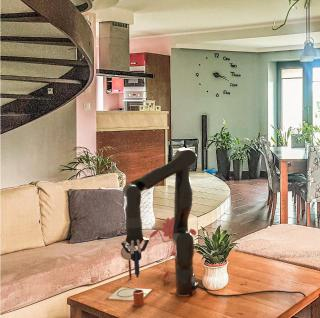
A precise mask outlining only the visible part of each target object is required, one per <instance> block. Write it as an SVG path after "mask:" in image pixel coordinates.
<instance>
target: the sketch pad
mask: <svg viewBox="0 0 320 318" xmlns="http://www.w3.org/2000/svg"><path fill="white" fill-rule="evenodd" d="M138 289H141V290H143V294H144V298H145V297H147V295H148V294H149V293H150V292H151V291H152V290H153V289H152V288H138V287H122V286H121V287H120V288H119V289H117V290H116V291H114V292H113V293H112V294H111V295H110V296H109V297H107V299H109V300H121V301H122V300H125V301H134V297H133V291H135V290H138Z"/></svg>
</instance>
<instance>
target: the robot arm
mask: <svg viewBox="0 0 320 318" xmlns="http://www.w3.org/2000/svg"><path fill="white" fill-rule="evenodd" d="M197 159H198V157H197V152H195V151H194V150H192V149H190V148H185V147H181V148H178V149H177V150H176V152H175V153H174V159H173V160H172V161H169V162H168V163H166V164H164V165H161V166H159V167H156V168H154V169H152V170H150V171H148V172H147V173H146V174H143V176H141V177H138V178H137V179H134V180H132V181H130V182H128V183H126V184H125V185H124V186H123V188H122V195H123V196H124V198H126V205H125V207H124V208H125V211H124V212H125V233H126V237H125V239H124V240H123V241H121V242H120V244H121V247H122V248H124V249H125V251H126V252H127V253H130V254H131V259H130V260H131V261H132V262H134V253H133V248H134V247H137V250H138V257H139V261H141V260H142V252H145V251H146V248H147V247H148V245H149V243H150V238H147V237H145V236H144V235H143V234H144V233H143V220H142V212H141V204H142V192H144V191H146V190H147V191H148V190H150V189H152V188H153V187H155V186H157V185H159V184H160V183H161V182H163V181H165V180H166V179H168V178H170V177H172V176H173V175H175V176H174V177H175V178H174V199H173V205H174V206H173V207H174V208H173V217H174V228H173V235H172V239H171V240H172V242H173V245H174V244H175V252H176V255H175V256H174V273H175V289H176V290H175V291H176V292H175V294H176V296H178V297H179V296H180V297H192V296H194V294H195V293H196V291H197V289H201V290H203V291H205V293H207V294H208V295H211V296H215V297H225V298H226V297H228V298H229V297H240V296H247V295H255V294H261V293H262V294H263V293H264V294H265V293H284V294H300V295H302V296H303V297H307V295H306V294H305V293H303V292H302V291H288V290H275V289H274V290H272V289H271V290H260V291H259V290H258V291H252V292H244V293H237V294H216V293H213V292H210V291H208V290H207V289H206V288H204V287H203V286H200V285H199V282H196V274H195V272H194V256H195V241H194V240H195V239H194V235H192V234H191V233H189V218H190V214H191V211H192V208H193V200H194V199H193V197H194V192H193V187H192V182H191V179H190V167H193V166H194V165H195V164H196V162H197ZM142 243H143V245H142V247H141V244H142ZM126 245H130V250H129V249H128V248H127V246H126Z"/></svg>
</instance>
